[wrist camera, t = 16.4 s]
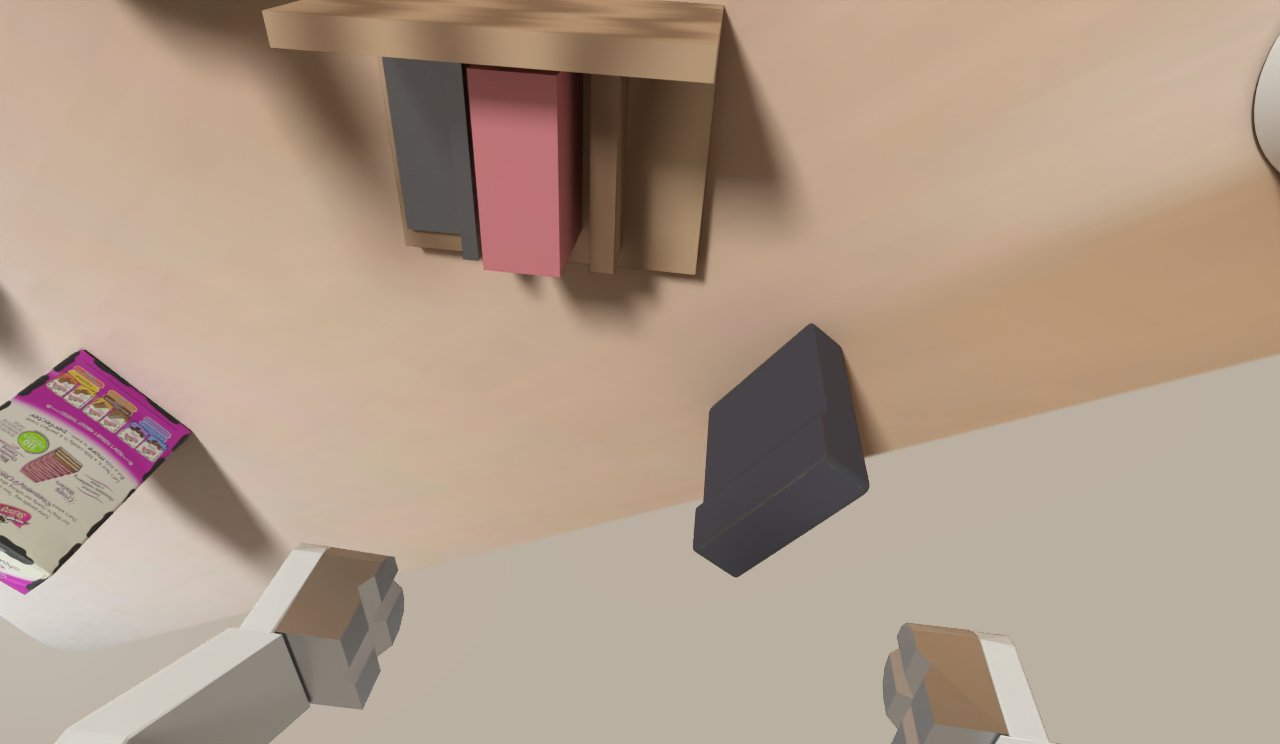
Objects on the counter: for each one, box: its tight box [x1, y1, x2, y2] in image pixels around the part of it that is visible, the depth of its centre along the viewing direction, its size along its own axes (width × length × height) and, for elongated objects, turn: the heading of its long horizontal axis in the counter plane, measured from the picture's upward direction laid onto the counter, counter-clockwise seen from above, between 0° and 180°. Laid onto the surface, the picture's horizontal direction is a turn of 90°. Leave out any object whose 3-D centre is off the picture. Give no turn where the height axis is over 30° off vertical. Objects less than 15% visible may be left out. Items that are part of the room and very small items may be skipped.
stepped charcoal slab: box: [693, 324, 869, 577], centre depth 47 cm, size 11×4×15 cm, turn 141°
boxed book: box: [467, 64, 583, 278], centre depth 41 cm, size 4×11×7 cm, turn 177°
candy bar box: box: [0, 349, 191, 595], centre depth 56 cm, size 11×5×16 cm, turn 38°
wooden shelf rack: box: [262, 0, 724, 275], centre depth 40 cm, size 20×16×12 cm
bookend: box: [382, 57, 482, 261], centre depth 42 cm, size 6×13×4 cm, turn 177°
